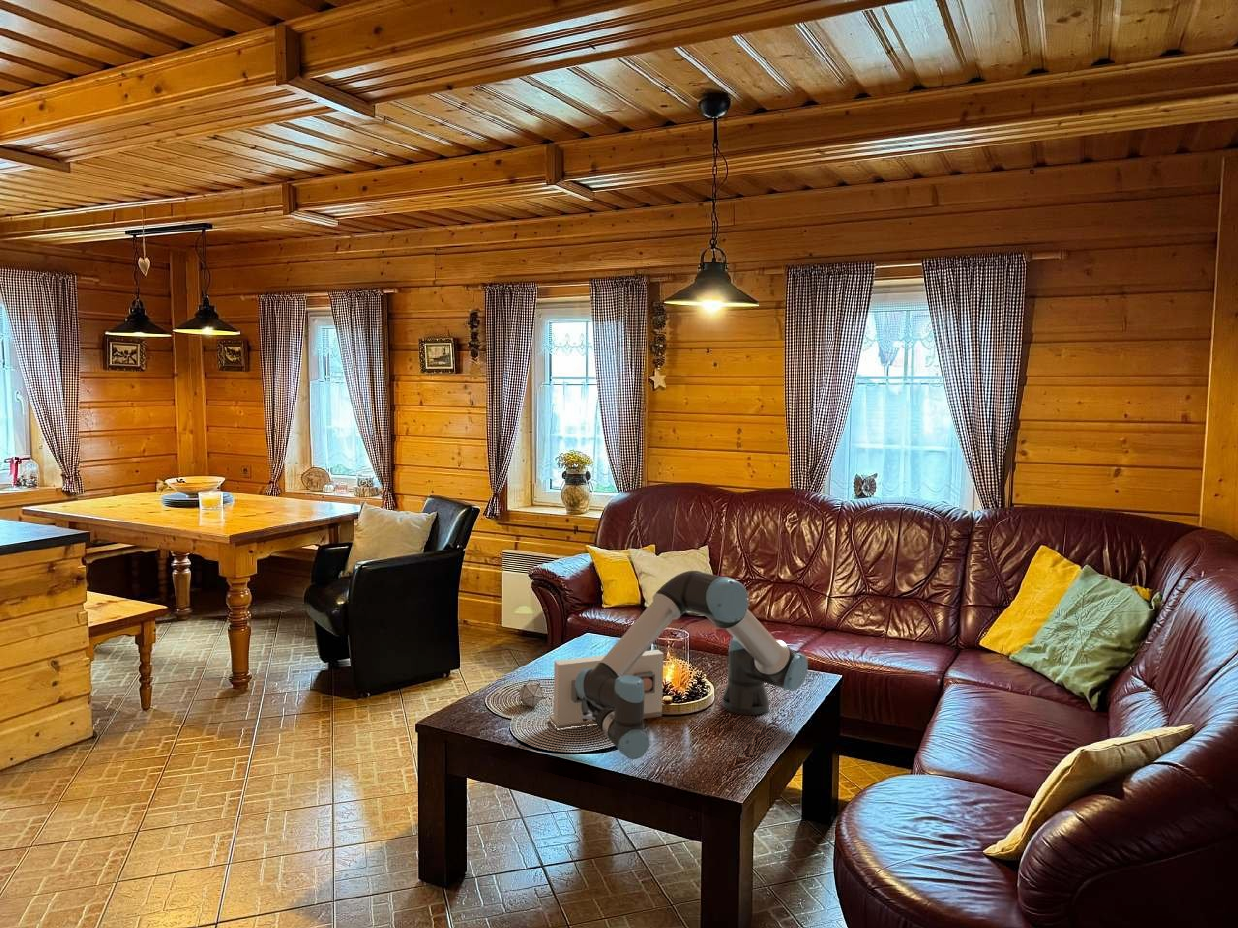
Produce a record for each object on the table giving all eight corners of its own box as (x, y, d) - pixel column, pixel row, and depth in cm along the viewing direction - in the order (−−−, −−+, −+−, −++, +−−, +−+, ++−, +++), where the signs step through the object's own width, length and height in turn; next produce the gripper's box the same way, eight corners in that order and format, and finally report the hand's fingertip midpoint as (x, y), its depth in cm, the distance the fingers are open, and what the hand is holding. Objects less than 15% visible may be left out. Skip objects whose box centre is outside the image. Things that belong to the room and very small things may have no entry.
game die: (537, 717, 267) (555, 694, 264) (518, 714, 260) (536, 691, 258) (525, 696, 273) (543, 674, 270) (506, 693, 266) (525, 670, 264)
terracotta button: (637, 689, 255) (637, 676, 254) (649, 688, 256) (649, 675, 256) (640, 691, 253) (640, 678, 252) (652, 690, 254) (652, 677, 254)
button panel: (549, 720, 255) (550, 656, 253) (651, 706, 267) (652, 645, 266) (560, 734, 244) (561, 668, 243) (665, 719, 257) (667, 656, 255)
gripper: (591, 740, 221) (563, 708, 243) (636, 734, 226) (604, 703, 248) (592, 713, 221) (563, 683, 242) (637, 707, 226) (605, 678, 247)
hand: (584, 693), depth 245 cm, fingers closed
